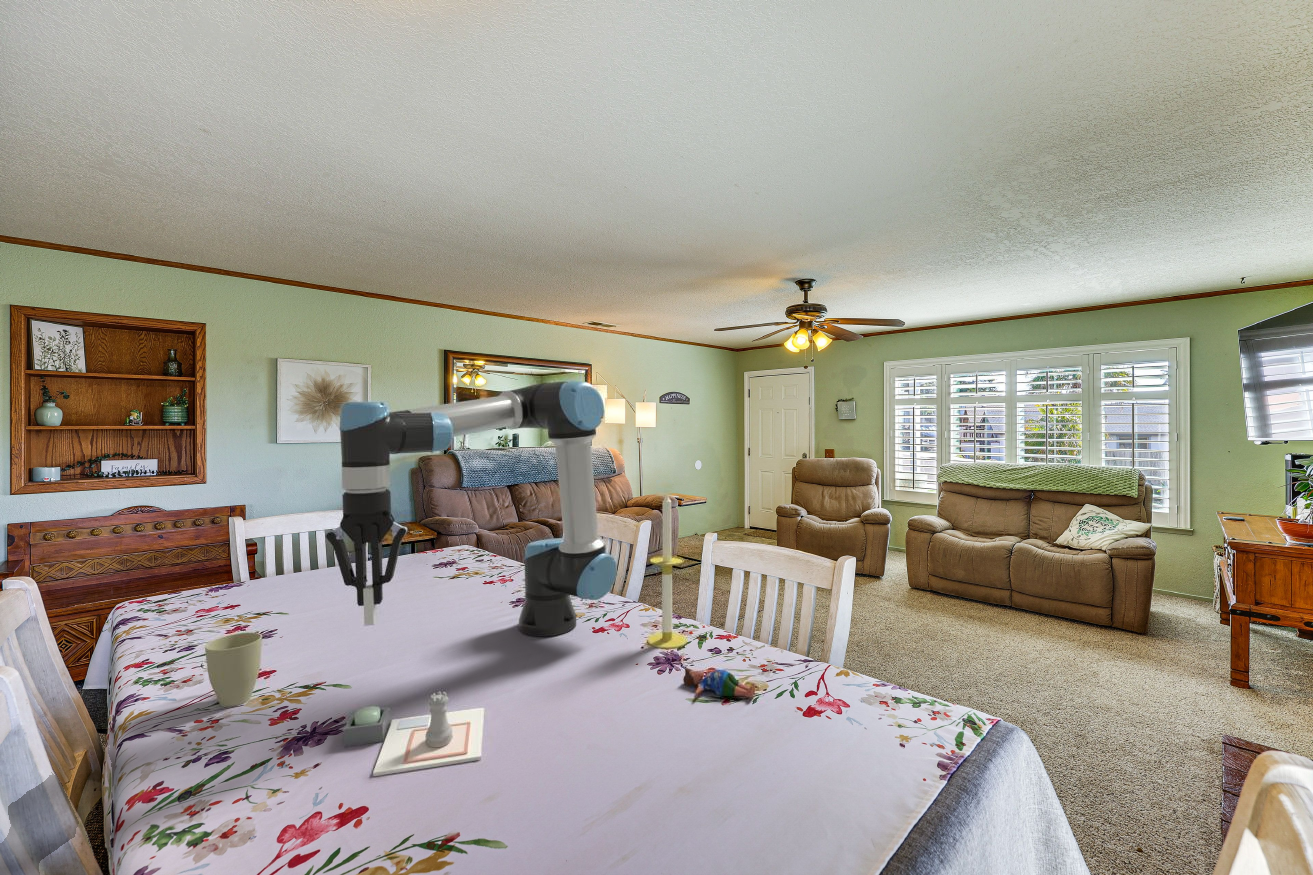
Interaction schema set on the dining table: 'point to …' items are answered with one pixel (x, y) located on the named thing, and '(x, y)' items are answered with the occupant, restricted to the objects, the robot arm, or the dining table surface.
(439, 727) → the rook chess piece
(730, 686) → the toy character
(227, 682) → the mug
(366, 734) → the button housing
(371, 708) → the button
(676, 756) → the dining table surface
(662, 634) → the paper towel holder
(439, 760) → the cream square board
